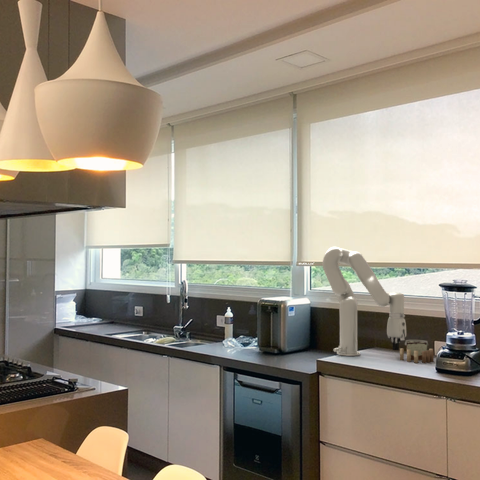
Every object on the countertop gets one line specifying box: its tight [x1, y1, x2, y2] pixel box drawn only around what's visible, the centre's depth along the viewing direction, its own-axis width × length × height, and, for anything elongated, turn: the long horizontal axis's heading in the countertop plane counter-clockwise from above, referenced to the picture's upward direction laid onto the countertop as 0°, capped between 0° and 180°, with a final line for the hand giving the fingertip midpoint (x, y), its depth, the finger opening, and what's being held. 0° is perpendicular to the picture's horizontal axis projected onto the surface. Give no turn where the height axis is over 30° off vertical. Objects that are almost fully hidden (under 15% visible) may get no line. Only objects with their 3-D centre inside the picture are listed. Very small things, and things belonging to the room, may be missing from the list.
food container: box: [404, 339, 429, 362], centre depth 290 cm, size 12×6×10 cm, turn 95°
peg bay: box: [399, 347, 435, 364], centre depth 287 cm, size 14×14×6 cm
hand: (395, 349), depth 299 cm, fingers closed
